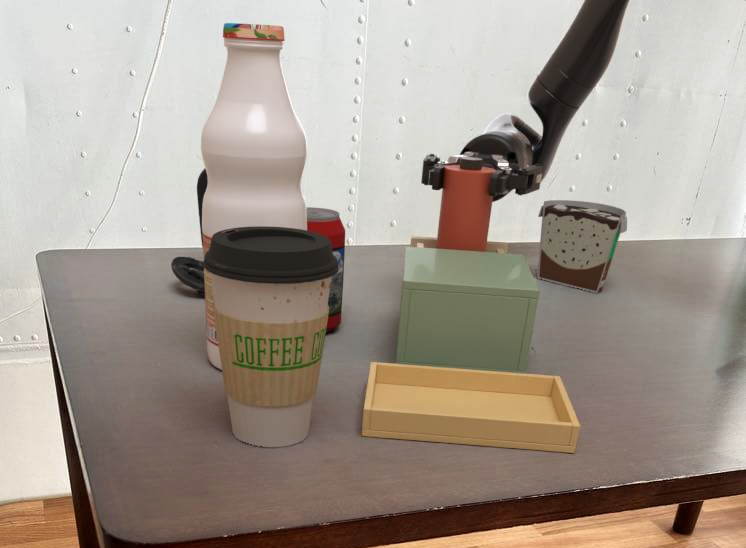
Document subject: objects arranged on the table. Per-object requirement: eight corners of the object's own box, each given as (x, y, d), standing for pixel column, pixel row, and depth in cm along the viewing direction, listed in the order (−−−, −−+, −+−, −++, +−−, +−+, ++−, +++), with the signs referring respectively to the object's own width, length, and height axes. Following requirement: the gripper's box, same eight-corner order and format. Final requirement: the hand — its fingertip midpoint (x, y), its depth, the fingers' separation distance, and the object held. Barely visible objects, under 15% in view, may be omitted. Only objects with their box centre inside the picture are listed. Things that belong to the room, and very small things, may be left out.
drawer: (406, 283, 105) (411, 227, 101) (495, 289, 104) (504, 234, 101) (404, 326, 89) (410, 262, 86) (508, 334, 89) (519, 270, 85)
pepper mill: (477, 293, 98) (495, 156, 90) (480, 306, 93) (499, 163, 85) (430, 290, 98) (445, 153, 90) (431, 303, 93) (446, 160, 85)
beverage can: (282, 337, 87) (284, 218, 80) (277, 318, 92) (277, 205, 86) (345, 337, 88) (351, 219, 81) (335, 318, 93) (340, 206, 87)
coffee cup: (289, 469, 61) (293, 262, 53) (184, 436, 65) (173, 239, 57) (352, 425, 68) (364, 237, 60) (254, 398, 72) (253, 219, 64)
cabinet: (398, 324, 92) (405, 246, 88) (510, 333, 92) (523, 254, 87) (395, 369, 80) (403, 280, 76) (524, 379, 79) (539, 290, 75)
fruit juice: (187, 363, 79) (169, 19, 64) (245, 339, 86) (241, 23, 71) (267, 385, 75) (267, 24, 60) (321, 358, 82) (334, 28, 67)
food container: (629, 288, 112) (647, 211, 106) (607, 296, 108) (625, 216, 102) (550, 270, 119) (564, 196, 113) (527, 276, 115) (540, 200, 109)
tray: (555, 400, 75) (560, 376, 74) (574, 453, 66) (580, 425, 64) (369, 386, 76) (370, 361, 75) (361, 436, 66) (363, 408, 65)
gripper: (440, 126, 100) (402, 137, 87) (558, 136, 96) (538, 150, 83) (434, 191, 104) (396, 212, 91) (547, 204, 100) (525, 227, 87)
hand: (464, 182), depth 87 cm, fingers closed on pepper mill, 5 cm apart
